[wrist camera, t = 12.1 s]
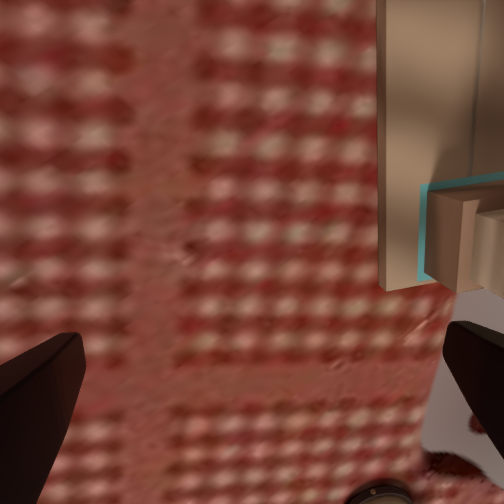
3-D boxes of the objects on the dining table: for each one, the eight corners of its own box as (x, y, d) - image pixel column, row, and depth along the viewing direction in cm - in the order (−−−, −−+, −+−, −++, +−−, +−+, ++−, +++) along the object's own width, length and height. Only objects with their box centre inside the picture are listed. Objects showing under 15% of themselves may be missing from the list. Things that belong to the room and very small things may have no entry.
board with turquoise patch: (375, -115, 17) (386, -129, 16) (572, -129, 18) (593, -142, 17) (378, 284, 24) (386, 291, 23) (521, 258, 25) (534, 263, 24)
